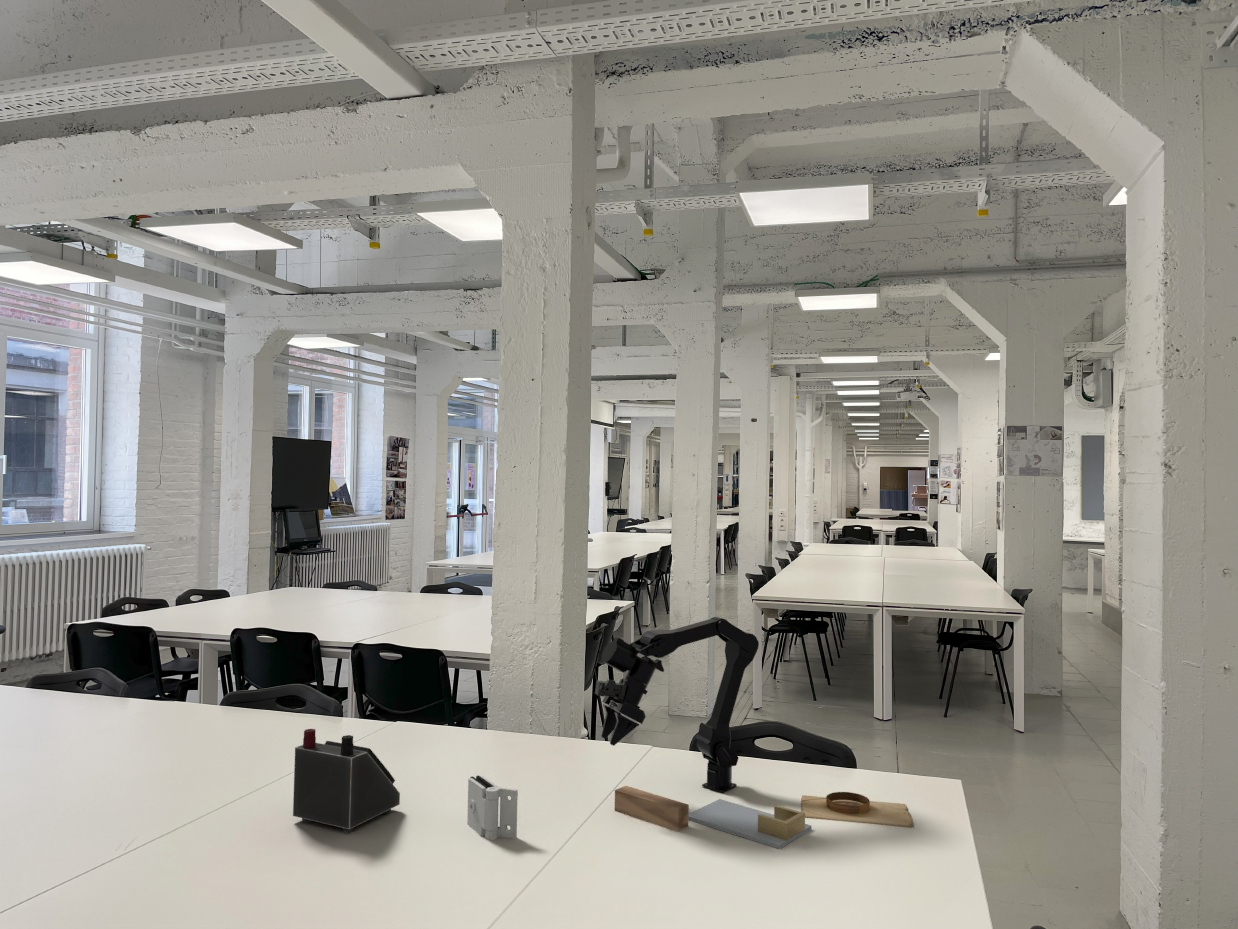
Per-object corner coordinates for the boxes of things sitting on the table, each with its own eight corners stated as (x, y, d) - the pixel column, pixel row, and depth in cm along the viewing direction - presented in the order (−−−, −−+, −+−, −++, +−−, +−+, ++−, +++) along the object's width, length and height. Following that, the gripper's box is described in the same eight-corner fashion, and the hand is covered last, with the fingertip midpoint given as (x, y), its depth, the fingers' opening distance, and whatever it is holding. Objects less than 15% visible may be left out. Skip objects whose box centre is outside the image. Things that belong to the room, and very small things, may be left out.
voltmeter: (400, 810, 191) (402, 722, 192) (349, 836, 176) (351, 740, 177) (346, 798, 198) (348, 713, 198) (292, 822, 183) (295, 730, 184)
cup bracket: (776, 821, 185) (776, 805, 186) (804, 829, 181) (805, 813, 181) (757, 831, 179) (757, 815, 179) (786, 840, 175) (786, 823, 175)
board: (799, 820, 190) (799, 806, 190) (798, 797, 205) (798, 784, 205) (914, 830, 185) (914, 816, 185) (905, 806, 200) (905, 792, 200)
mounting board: (719, 802, 199) (719, 799, 199) (811, 829, 183) (811, 825, 183) (685, 819, 188) (685, 815, 188) (779, 849, 172) (779, 845, 173)
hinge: (517, 838, 176) (518, 790, 177) (497, 845, 172) (498, 796, 173) (478, 819, 186) (479, 774, 186) (458, 826, 182) (459, 779, 182)
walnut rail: (625, 807, 195) (625, 785, 196) (688, 827, 184) (688, 804, 184) (614, 812, 192) (614, 790, 193) (677, 833, 181) (678, 809, 181)
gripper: (599, 661, 209) (570, 719, 205) (617, 669, 191) (585, 732, 187) (637, 682, 210) (609, 740, 207) (658, 691, 192) (628, 754, 189)
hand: (607, 741), depth 197 cm, fingers open, 9 cm apart
